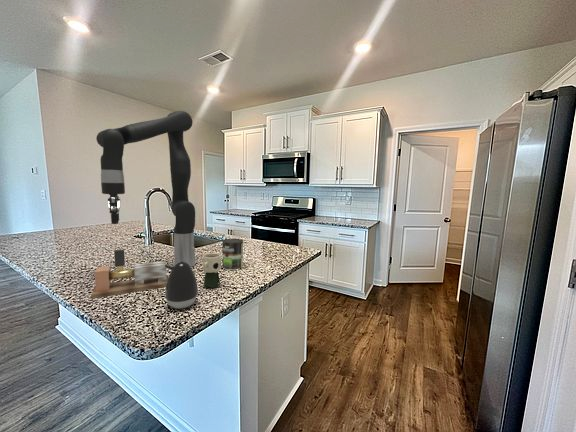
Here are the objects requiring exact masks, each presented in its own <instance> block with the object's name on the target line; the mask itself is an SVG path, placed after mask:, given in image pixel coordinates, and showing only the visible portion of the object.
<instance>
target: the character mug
mask: <svg viewBox="0 0 576 432" xmlns="http://www.w3.org/2000/svg"><path fill="white" fill-rule="evenodd" d="M221 262H222V255H221V254H220V253H218V252H209V253H205V254H202V271H203V272H205V274H204V280H203V286H204V287H206V288H211V289H212V288H217V287H219V285H221V283H220V275H219V272H220V271H221V269H222V266H221Z"/></svg>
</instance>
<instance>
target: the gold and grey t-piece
mask: <svg viewBox="0 0 576 432" xmlns="http://www.w3.org/2000/svg"><path fill="white" fill-rule="evenodd" d="M113 255H114V267H115V268H116V270H114V271H113V270H112V271H111V270H110V272H109V280H111V281H112V280H119V279H126V278H127V279H128V278H133V277H134V278H135V274H134V268H130V269H129V268H128V269H124V267H125V265H126V259H125V257H126V255H125V248H124V249H115V250H114V253H113Z"/></svg>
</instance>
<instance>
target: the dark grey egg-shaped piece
mask: <svg viewBox="0 0 576 432" xmlns="http://www.w3.org/2000/svg"><path fill="white" fill-rule="evenodd" d="M165 267H166V269H168V270H170V273H169V275H168V281H167V285H166V287H165V295H164V297H165V299H166V301H167V304H168V305H169V306H170V307H171V308H173V309H177V310H178V309H180V310H181V308H182V309H185V308H188V307H190V306H192V305H193V304H194V303H195V301H196V299H197V296H198V294H199V288H198V283H197V282H198V281H197V278H196V274H195V272H194V270H193V268H192V267H190V265H189V264H188V263H186V262H178V263H176V264H174V265H171V264H168V263H166V265H165Z"/></svg>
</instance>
